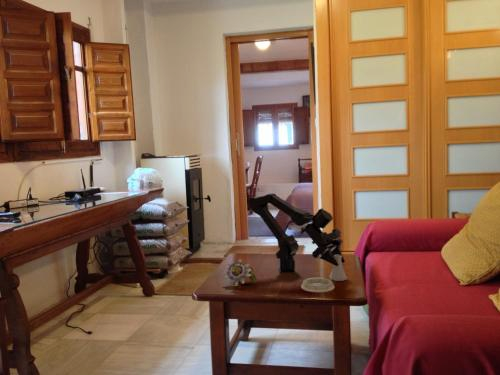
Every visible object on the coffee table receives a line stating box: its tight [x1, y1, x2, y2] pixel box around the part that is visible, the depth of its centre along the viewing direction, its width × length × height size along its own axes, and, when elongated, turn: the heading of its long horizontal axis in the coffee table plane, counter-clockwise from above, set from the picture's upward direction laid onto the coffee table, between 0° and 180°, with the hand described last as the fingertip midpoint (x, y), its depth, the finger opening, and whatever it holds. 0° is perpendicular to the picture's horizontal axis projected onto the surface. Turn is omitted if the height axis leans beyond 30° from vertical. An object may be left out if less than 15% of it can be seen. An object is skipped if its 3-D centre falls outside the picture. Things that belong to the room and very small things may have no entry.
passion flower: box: [222, 258, 257, 287], centre depth 179 cm, size 11×11×12 cm
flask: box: [328, 255, 348, 282], centre depth 180 cm, size 7×7×10 cm
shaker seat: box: [300, 277, 335, 293], centre depth 170 cm, size 13×13×2 cm
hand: (341, 263), depth 179 cm, fingers open, 6 cm apart
